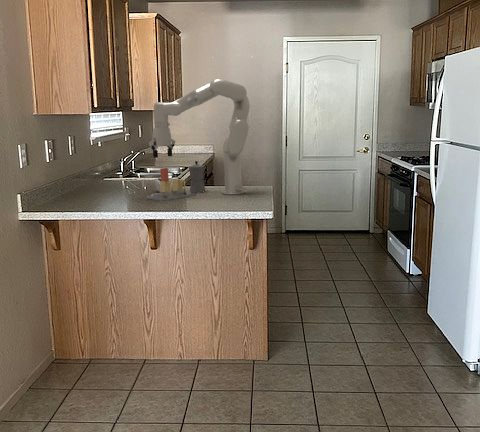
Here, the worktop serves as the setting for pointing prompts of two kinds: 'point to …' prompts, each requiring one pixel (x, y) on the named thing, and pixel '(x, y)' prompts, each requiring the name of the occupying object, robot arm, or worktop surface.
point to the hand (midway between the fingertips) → (162, 156)
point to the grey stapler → (158, 184)
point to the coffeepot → (196, 178)
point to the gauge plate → (178, 195)
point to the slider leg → (165, 181)
